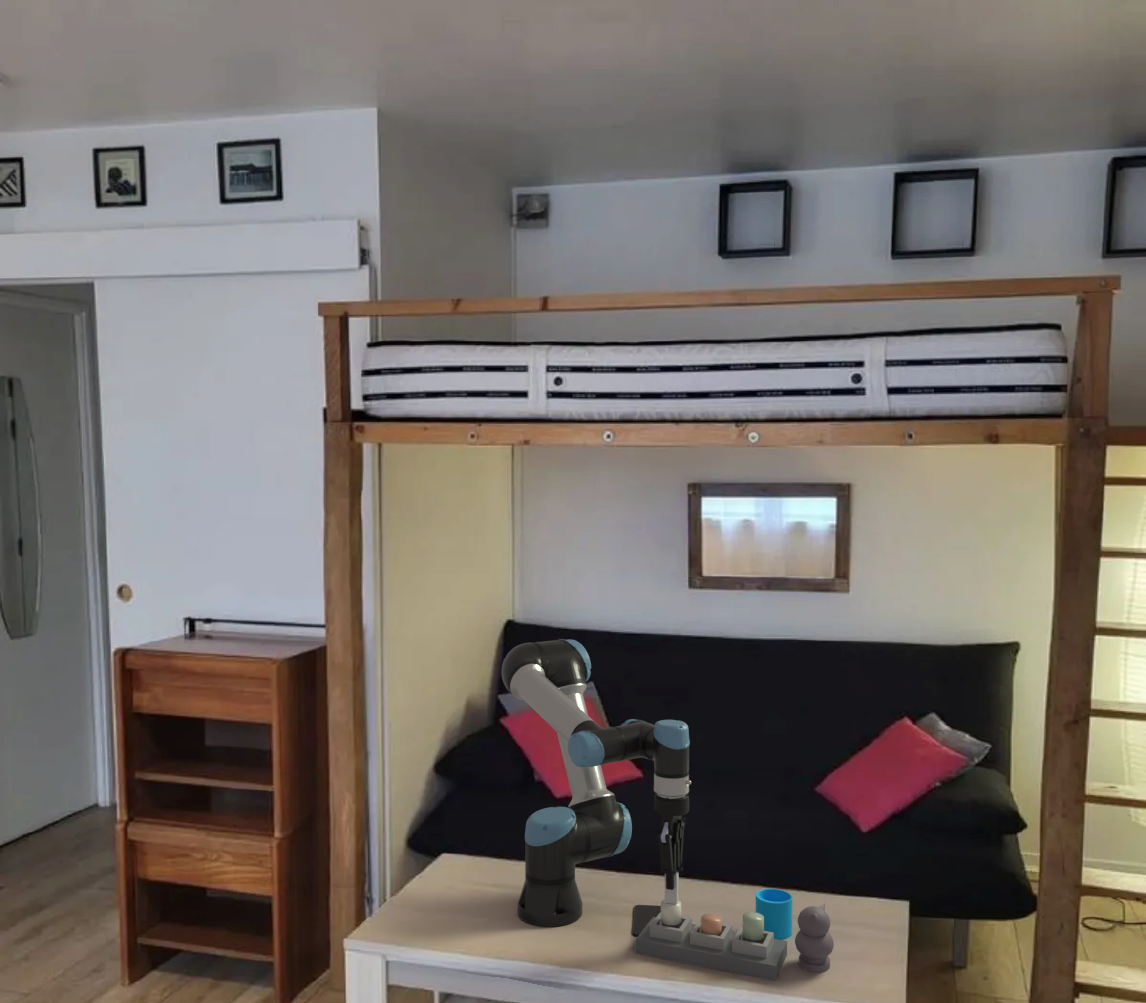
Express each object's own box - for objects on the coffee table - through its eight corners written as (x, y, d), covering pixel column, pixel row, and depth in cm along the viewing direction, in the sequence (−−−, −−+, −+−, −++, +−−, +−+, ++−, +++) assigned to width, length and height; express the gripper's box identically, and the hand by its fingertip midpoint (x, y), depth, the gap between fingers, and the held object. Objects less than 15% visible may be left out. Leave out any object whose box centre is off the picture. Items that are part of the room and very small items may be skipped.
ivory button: (658, 923, 216) (658, 904, 216) (664, 915, 220) (664, 897, 220) (677, 926, 214) (677, 908, 214) (683, 918, 218) (683, 900, 218)
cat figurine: (801, 952, 215) (802, 896, 215) (838, 961, 211) (839, 904, 211) (789, 968, 208) (789, 911, 207) (826, 978, 204) (827, 919, 203)
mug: (789, 942, 219) (789, 905, 219) (752, 936, 222) (752, 900, 222) (797, 920, 231) (797, 885, 231) (761, 915, 234) (762, 880, 233)
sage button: (740, 938, 209) (740, 919, 209) (745, 929, 213) (745, 910, 213) (761, 942, 207) (761, 922, 207) (765, 933, 211) (765, 914, 211)
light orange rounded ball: (698, 939, 213) (698, 920, 213) (704, 930, 217) (704, 912, 217) (718, 943, 211) (718, 924, 211) (724, 934, 215) (724, 915, 215)
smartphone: (667, 940, 221) (667, 909, 237) (667, 936, 221) (668, 905, 237) (631, 938, 222) (634, 907, 238) (631, 934, 222) (634, 904, 238)
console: (635, 953, 214) (635, 928, 214) (653, 930, 225) (653, 906, 225) (775, 980, 203) (775, 954, 202) (787, 955, 214) (787, 930, 213)
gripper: (679, 804, 209) (679, 916, 210) (696, 787, 221) (696, 893, 222) (645, 800, 212) (645, 911, 212) (664, 783, 224) (664, 888, 224)
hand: (671, 902), depth 217 cm, fingers closed
